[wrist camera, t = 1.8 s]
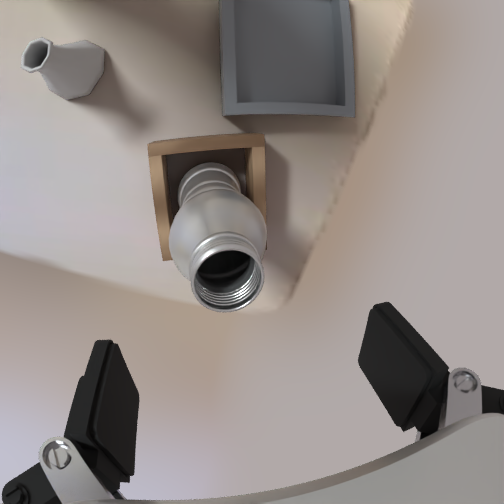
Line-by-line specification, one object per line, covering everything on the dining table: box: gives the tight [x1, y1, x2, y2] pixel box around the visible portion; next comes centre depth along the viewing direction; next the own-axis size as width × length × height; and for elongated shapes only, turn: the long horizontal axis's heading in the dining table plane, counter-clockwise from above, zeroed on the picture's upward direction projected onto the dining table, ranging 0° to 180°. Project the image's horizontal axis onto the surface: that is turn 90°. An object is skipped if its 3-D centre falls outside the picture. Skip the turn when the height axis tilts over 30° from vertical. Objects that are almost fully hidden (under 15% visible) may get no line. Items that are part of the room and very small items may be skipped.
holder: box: [147, 133, 267, 261], centre depth 30 cm, size 12×11×4 cm
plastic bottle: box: [169, 162, 267, 312], centre depth 23 cm, size 6×7×20 cm
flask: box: [21, 37, 105, 100], centre depth 19 cm, size 7×7×10 cm
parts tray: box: [219, 0, 355, 117], centre depth 25 cm, size 18×14×3 cm
